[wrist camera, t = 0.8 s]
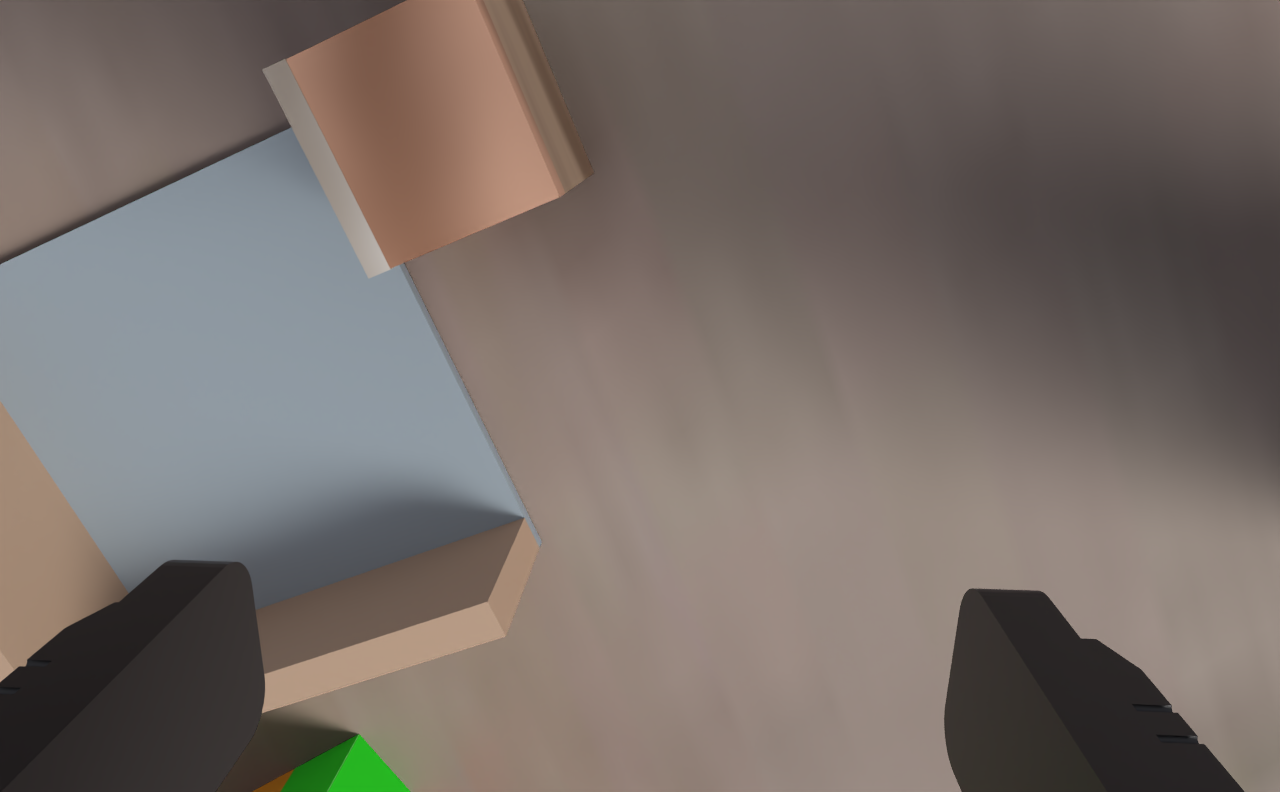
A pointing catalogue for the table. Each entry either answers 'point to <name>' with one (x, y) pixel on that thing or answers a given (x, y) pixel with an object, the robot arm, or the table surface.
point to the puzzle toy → (340, 772)
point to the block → (430, 124)
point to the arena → (247, 433)
